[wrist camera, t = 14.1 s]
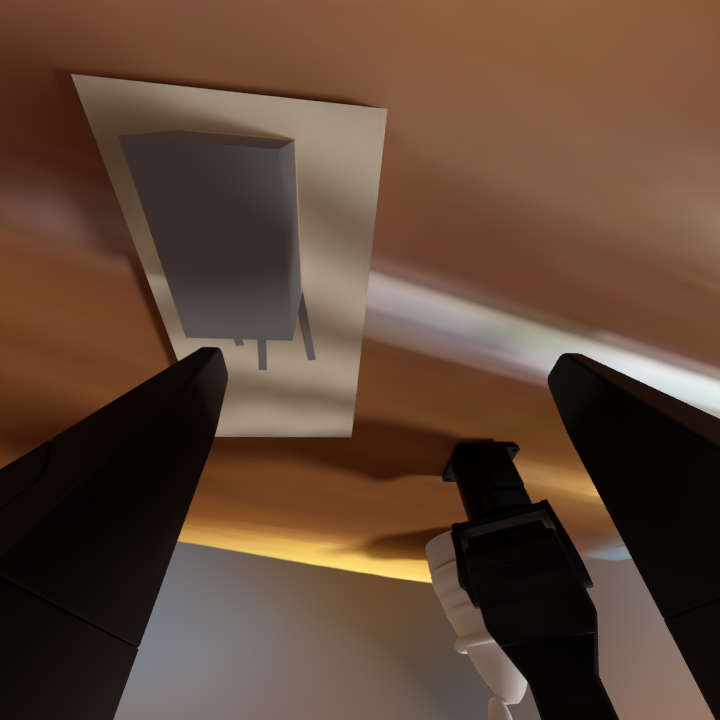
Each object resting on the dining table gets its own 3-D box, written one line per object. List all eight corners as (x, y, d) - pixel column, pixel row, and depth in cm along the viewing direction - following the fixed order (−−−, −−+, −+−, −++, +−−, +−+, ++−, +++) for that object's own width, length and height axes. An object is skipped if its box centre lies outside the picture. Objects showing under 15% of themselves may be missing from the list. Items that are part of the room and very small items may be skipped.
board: (350, 423, 28) (351, 437, 26) (212, 422, 26) (206, 437, 25) (382, 108, 14) (387, 109, 13) (94, 76, 13) (69, 73, 11)
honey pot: (425, 562, 52) (458, 726, 38) (423, 532, 44) (464, 726, 30) (502, 553, 52) (563, 716, 38) (514, 520, 43) (598, 714, 30)
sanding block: (302, 290, 17) (292, 340, 14) (220, 286, 17) (185, 337, 13) (295, 139, 13) (278, 149, 9) (185, 129, 13) (118, 135, 9)
